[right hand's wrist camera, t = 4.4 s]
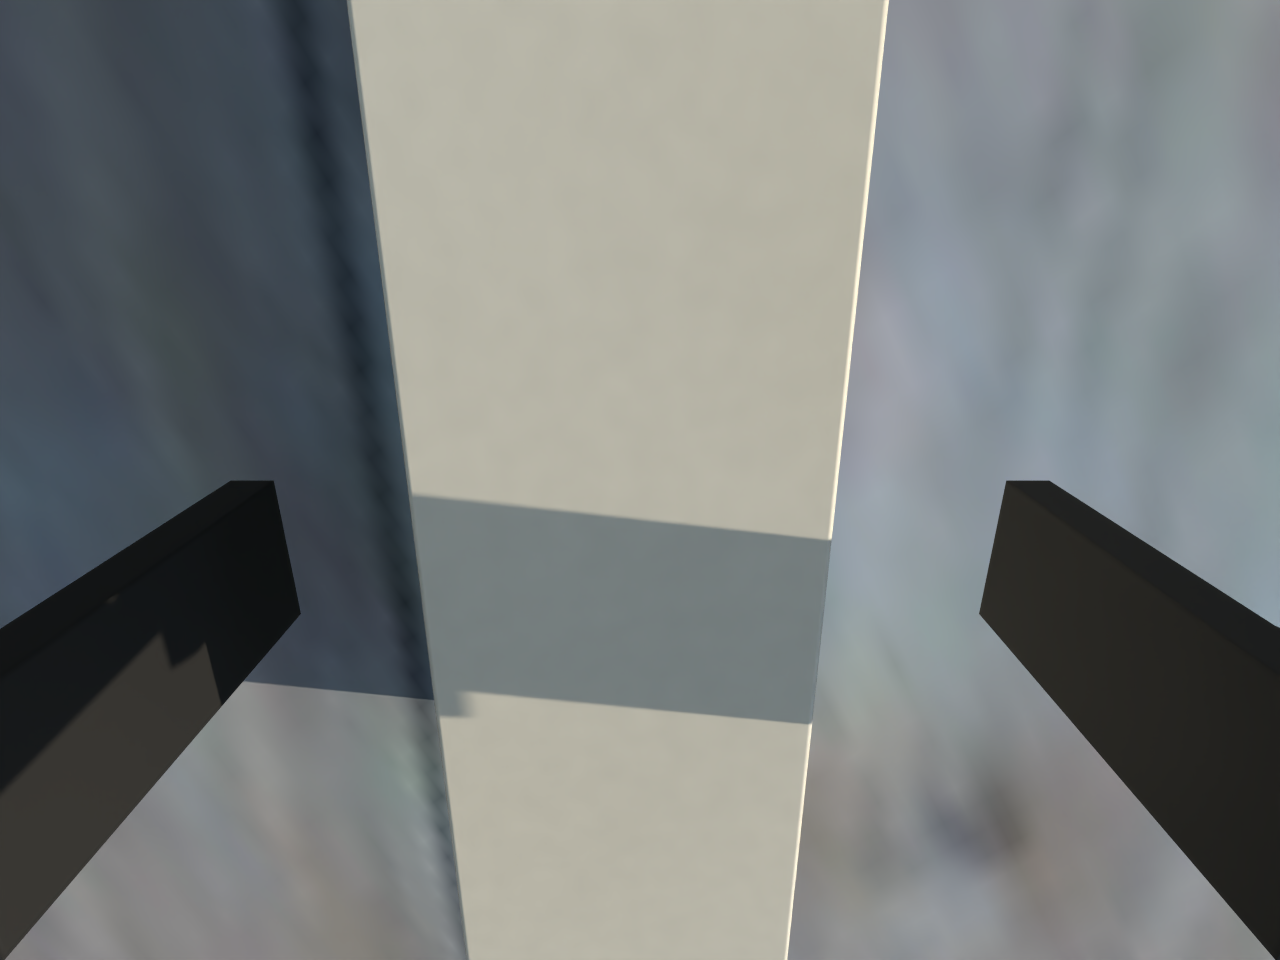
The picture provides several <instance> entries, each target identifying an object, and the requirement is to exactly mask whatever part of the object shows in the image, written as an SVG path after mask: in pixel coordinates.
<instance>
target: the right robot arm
mask: <svg viewBox="0 0 1280 960" xmlns="http://www.w3.org/2000/svg"><path fill="white" fill-rule="evenodd" d="M300 614H301V612H300V608H299V603H298V598H297V593H296V588H295V583H294V578H293V573H292V568H291V564H290V559H289V554H288V549H287V544H286V539H285V534H284V529H283V524H282V519H281V515H280V510H279V505H278V500H277V495H276V490H275V485H274V481H230V482H228V483H226V484H225V485H223V486H222V487H220V488H219V489H217V490H216V491H214V492H212V493H211V494H209V495H208V496H206V497H205V498H203V499H202V500H200V501H198V502H197V503H195V504H194V505H192V506H191V507H189V508H188V509H186V510H184V511H183V512H181V513H180V514H178V515H177V516H175V517H174V518H172V519H170V520H169V521H167V522H166V523H164V524H163V525H161V526H160V527H158V528H156V529H155V530H153V531H152V532H150V533H149V534H147V535H146V536H144V537H142V538H141V539H139V540H138V541H136V542H135V543H133V544H132V545H130V546H128V547H127V548H125V549H124V550H122V551H121V552H119V553H118V554H116V555H114V556H113V557H111V558H110V559H108V560H107V561H105V562H104V563H102V564H100V565H99V566H97V567H96V568H94V569H93V570H91V571H90V572H88V573H86V574H85V575H83V576H82V577H80V578H79V579H77V580H76V581H74V582H72V583H71V584H69V585H68V586H66V587H65V588H63V589H62V590H60V591H58V592H57V593H55V594H54V595H52V596H51V597H49V598H48V599H46V600H44V601H43V602H41V603H40V604H38V605H37V606H35V607H34V608H32V609H30V610H29V611H27V612H26V613H24V614H23V615H21V616H20V617H18V618H16V619H15V620H13V621H12V622H10V623H9V624H7V625H6V626H4V627H2V628H1V629H0V960H5V959H6V957H7V956H8V955H9V954H10V953H11V952H12V950H13V949H14V948H15V947H16V946H17V945H18V943H19V942H20V941H21V940H22V939H23V938H24V936H25V935H26V934H27V933H28V932H29V931H30V929H31V928H32V927H33V926H34V925H35V924H36V922H37V921H38V920H39V919H40V918H41V917H42V915H43V914H44V913H45V912H46V911H47V910H48V908H49V907H50V906H51V905H52V904H53V903H54V901H55V900H56V899H57V898H58V897H59V896H60V894H61V893H62V892H63V891H64V890H65V889H66V887H67V886H68V885H69V884H70V883H71V881H72V880H73V879H74V878H75V877H76V876H77V874H78V873H79V872H80V871H81V870H82V869H83V867H84V866H85V865H86V864H87V863H88V862H89V860H90V859H91V858H92V857H93V856H94V855H95V853H96V852H97V851H98V850H99V849H100V848H101V846H102V845H103V844H104V843H105V842H106V841H107V839H108V838H109V837H110V836H111V835H112V834H113V832H114V831H115V830H116V829H117V828H118V827H119V825H120V824H121V823H122V822H123V821H124V820H125V818H126V817H127V816H128V815H129V814H130V813H131V811H132V810H133V809H134V808H135V807H136V806H137V804H138V803H139V802H140V801H141V800H142V799H143V797H144V796H145V795H146V794H147V793H148V792H149V790H150V789H151V788H152V787H153V786H154V785H155V783H156V782H157V781H158V780H159V779H160V778H161V776H162V775H163V774H164V773H165V772H166V771H167V769H168V768H169V767H170V766H171V765H172V764H173V762H174V761H175V760H176V759H177V758H178V757H179V755H180V754H181V753H182V752H183V751H184V750H185V748H186V747H187V746H188V745H189V744H190V743H191V741H192V740H193V739H194V738H195V737H196V736H197V734H198V733H199V732H200V731H201V730H202V729H203V727H204V726H205V725H206V724H207V723H208V722H209V720H210V719H211V718H212V717H213V716H214V714H215V713H216V712H217V711H218V710H219V709H220V707H221V706H222V705H223V704H224V703H225V702H226V700H227V699H228V698H229V697H230V696H231V695H232V693H233V692H234V691H235V690H236V689H237V688H238V686H239V685H240V684H241V683H242V682H243V681H244V679H245V678H246V677H247V676H248V675H249V674H250V672H251V671H252V670H253V669H254V668H255V667H256V665H257V664H258V663H259V662H260V661H261V660H262V658H263V657H264V656H265V655H266V654H267V653H268V651H269V650H270V649H271V648H272V647H273V646H274V644H275V643H276V642H277V641H278V640H279V639H280V637H281V636H282V635H283V634H284V633H285V632H286V630H287V629H288V628H289V627H290V626H291V625H292V623H293V622H294V621H295V620H296V619H297V618H298V616H299V615H300ZM979 614H980V615H981V616H982V618H983V619H984V620H985V621H986V622H987V623H988V625H989V626H990V627H991V628H992V629H993V630H994V632H995V633H996V634H997V635H998V636H999V637H1000V639H1001V640H1002V641H1003V642H1004V643H1005V644H1006V646H1007V647H1008V648H1009V649H1010V650H1011V651H1012V653H1013V654H1014V655H1015V656H1016V657H1017V658H1018V660H1019V661H1020V662H1021V663H1022V664H1023V665H1024V667H1025V668H1026V669H1027V670H1028V671H1029V672H1030V674H1031V675H1032V676H1033V677H1034V678H1035V679H1036V681H1037V682H1038V683H1039V684H1040V685H1041V686H1042V688H1043V689H1044V690H1045V691H1046V692H1047V693H1048V695H1049V696H1050V697H1051V698H1052V699H1053V700H1054V702H1055V703H1056V704H1057V705H1058V706H1059V707H1060V709H1061V710H1062V711H1063V712H1064V713H1065V714H1066V716H1067V717H1068V718H1069V719H1070V720H1071V722H1072V723H1073V724H1074V725H1075V726H1076V727H1077V729H1078V730H1079V731H1080V732H1081V733H1082V734H1083V736H1084V737H1085V738H1086V739H1087V740H1088V741H1089V743H1090V744H1091V745H1092V746H1093V747H1094V748H1095V750H1096V751H1097V752H1098V753H1099V754H1100V755H1101V757H1102V758H1103V759H1104V760H1105V761H1106V762H1107V764H1108V765H1109V766H1110V767H1111V768H1112V769H1113V771H1114V772H1115V773H1116V774H1117V775H1118V776H1119V778H1120V779H1121V780H1122V781H1123V782H1124V783H1125V785H1126V786H1127V787H1128V788H1129V789H1130V790H1131V792H1132V793H1133V794H1134V795H1135V796H1136V797H1137V799H1138V800H1139V801H1140V802H1141V803H1142V804H1143V806H1144V807H1145V808H1146V809H1147V810H1148V811H1149V813H1150V814H1151V815H1152V816H1153V817H1154V818H1155V820H1156V821H1157V822H1158V823H1159V824H1160V825H1161V827H1162V828H1163V829H1164V830H1165V831H1166V832H1167V834H1168V835H1169V836H1170V837H1171V838H1172V839H1173V841H1174V842H1175V843H1176V844H1177V845H1178V846H1179V848H1180V849H1181V850H1182V851H1183V852H1184V853H1185V855H1186V856H1187V857H1188V858H1189V859H1190V860H1191V862H1192V863H1193V864H1194V865H1195V866H1196V867H1197V869H1198V870H1199V871H1200V872H1201V873H1202V874H1203V876H1204V877H1205V878H1206V879H1207V880H1208V881H1209V883H1210V884H1211V885H1212V886H1213V887H1214V889H1215V890H1216V891H1217V892H1218V893H1219V894H1220V896H1221V897H1222V898H1223V899H1224V900H1225V901H1226V903H1227V904H1228V905H1229V906H1230V907H1231V908H1232V910H1233V911H1234V912H1235V913H1236V914H1237V915H1238V917H1239V918H1240V919H1241V920H1242V921H1243V922H1244V924H1245V925H1246V926H1247V927H1248V928H1249V929H1250V931H1251V932H1252V933H1253V934H1254V935H1255V936H1256V938H1257V939H1258V940H1259V941H1260V942H1261V943H1262V945H1263V946H1264V947H1265V948H1266V949H1267V950H1268V952H1269V953H1270V954H1271V955H1272V956H1273V957H1274V959H1275V960H1280V628H1279V627H1277V626H1274V625H1273V624H1271V623H1270V622H1268V621H1267V620H1265V619H1264V618H1262V617H1260V616H1259V615H1257V614H1256V613H1254V612H1253V611H1251V610H1250V609H1248V608H1246V607H1245V606H1243V605H1242V604H1240V603H1239V602H1237V601H1236V600H1234V599H1232V598H1231V597H1229V596H1228V595H1226V594H1225V593H1223V592H1222V591H1220V590H1218V589H1217V588H1215V587H1214V586H1212V585H1211V584H1209V583H1208V582H1206V581H1204V580H1203V579H1201V578H1200V577H1198V576H1197V575H1195V574H1194V573H1192V572H1190V571H1189V570H1187V569H1186V568H1184V567H1183V566H1181V565H1180V564H1178V563H1176V562H1175V561H1173V560H1172V559H1170V558H1169V557H1167V556H1166V555H1164V554H1162V553H1161V552H1159V551H1158V550H1156V549H1155V548H1153V547H1152V546H1150V545H1148V544H1147V543H1145V542H1144V541H1142V540H1141V539H1139V538H1138V537H1136V536H1134V535H1133V534H1131V533H1130V532H1128V531H1127V530H1125V529H1124V528H1122V527H1120V526H1119V525H1117V524H1116V523H1114V522H1113V521H1111V520H1110V519H1108V518H1106V517H1105V516H1103V515H1102V514H1100V513H1099V512H1097V511H1096V510H1094V509H1092V508H1091V507H1089V506H1088V505H1086V504H1085V503H1083V502H1082V501H1080V500H1078V499H1077V498H1075V497H1074V496H1072V495H1071V494H1069V493H1068V492H1066V491H1064V490H1063V489H1061V488H1060V487H1058V486H1057V485H1055V484H1054V483H1052V482H1050V481H1006V485H1005V490H1004V495H1003V500H1002V505H1001V510H1000V515H999V519H998V524H997V529H996V534H995V539H994V544H993V549H992V554H991V559H990V564H989V568H988V573H987V578H986V583H985V588H984V593H983V598H982V603H981V608H980V612H979Z"/></svg>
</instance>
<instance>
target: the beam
mask: <svg viewBox="0 0 1280 960" xmlns="http://www.w3.org/2000/svg"><path fill="white" fill-rule="evenodd" d="M888 2H889V0H347V8H348V16H349V24H350V32H351V40H352V48H353V56H354V64H355V72H356V80H357V88H358V96H359V104H360V112H361V120H362V128H363V136H364V144H365V152H366V160H367V167H368V175H369V183H370V191H371V199H372V207H373V215H374V223H375V231H376V239H377V247H378V255H379V263H380V271H381V279H382V287H383V295H384V303H385V311H386V319H387V327H388V335H389V343H390V351H391V359H392V367H393V375H394V383H395V391H396V399H397V407H398V415H399V423H400V431H401V439H402V447H403V455H404V463H405V471H406V479H407V487H408V495H409V503H410V511H411V519H412V527H413V535H414V543H415V551H416V559H417V567H418V575H419V583H420V591H421V599H422V607H423V615H424V623H425V631H426V639H427V647H428V655H429V663H430V671H431V679H432V687H433V695H434V703H435V711H436V719H437V727H438V735H439V743H440V751H441V759H442V767H443V775H444V783H445V791H446V799H447V807H448V815H449V823H450V831H451V839H452V847H453V855H454V863H455V871H456V879H457V887H458V895H459V902H460V910H461V918H462V926H463V934H464V942H465V950H466V958H467V960H787V955H788V945H789V936H790V927H791V917H792V908H793V898H794V889H795V879H796V870H797V860H798V851H799V842H800V832H801V823H802V813H803V804H804V794H805V785H806V776H807V766H808V757H809V747H810V738H811V728H812V719H813V710H814V700H815V691H816V681H817V672H818V662H819V653H820V643H821V634H822V625H823V615H824V606H825V596H826V587H827V577H828V568H829V559H830V549H831V540H832V530H833V521H834V511H835V502H836V493H837V483H838V474H839V464H840V455H841V445H842V436H843V426H844V417H845V408H846V398H847V389H848V379H849V370H850V360H851V351H852V342H853V332H854V323H855V313H856V304H857V294H858V285H859V276H860V266H861V257H862V247H863V238H864V228H865V219H866V209H867V200H868V191H869V181H870V172H871V162H872V153H873V143H874V134H875V125H876V115H877V106H878V96H879V87H880V77H881V68H882V59H883V49H884V40H885V30H886V21H887V11H888Z"/></svg>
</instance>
